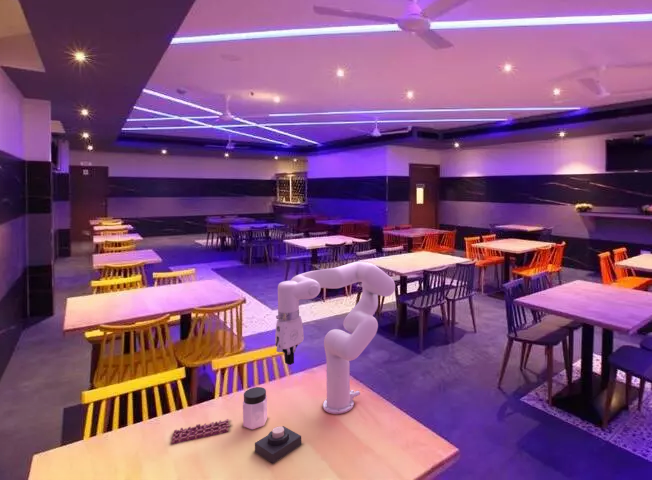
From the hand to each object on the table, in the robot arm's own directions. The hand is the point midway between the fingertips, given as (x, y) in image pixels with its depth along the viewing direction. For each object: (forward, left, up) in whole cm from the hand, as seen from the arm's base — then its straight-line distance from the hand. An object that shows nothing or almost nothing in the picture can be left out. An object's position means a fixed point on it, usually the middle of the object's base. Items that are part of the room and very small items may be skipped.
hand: (289, 363), depth 149 cm
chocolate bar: (+26, -19, -26) cm, 41 cm away
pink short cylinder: (+8, +8, -20) cm, 23 cm away
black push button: (+8, +8, -25) cm, 27 cm away
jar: (+9, -12, -25) cm, 29 cm away
